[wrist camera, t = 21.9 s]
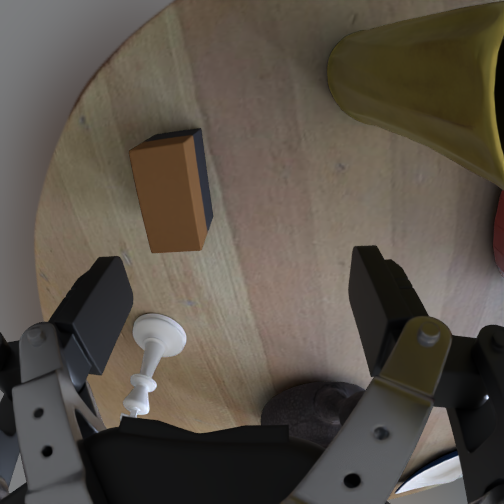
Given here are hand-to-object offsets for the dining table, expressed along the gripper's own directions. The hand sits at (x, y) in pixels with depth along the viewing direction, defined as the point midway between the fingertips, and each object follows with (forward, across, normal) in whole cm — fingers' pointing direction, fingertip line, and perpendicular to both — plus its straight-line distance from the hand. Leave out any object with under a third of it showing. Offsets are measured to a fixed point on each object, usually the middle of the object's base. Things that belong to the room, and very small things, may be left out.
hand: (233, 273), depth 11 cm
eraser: (+11, +4, 0) cm, 11 cm away
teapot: (+10, -7, +22) cm, 26 cm away
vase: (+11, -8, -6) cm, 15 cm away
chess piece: (+11, +9, +14) cm, 19 cm away
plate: (+10, -38, +61) cm, 73 cm away
